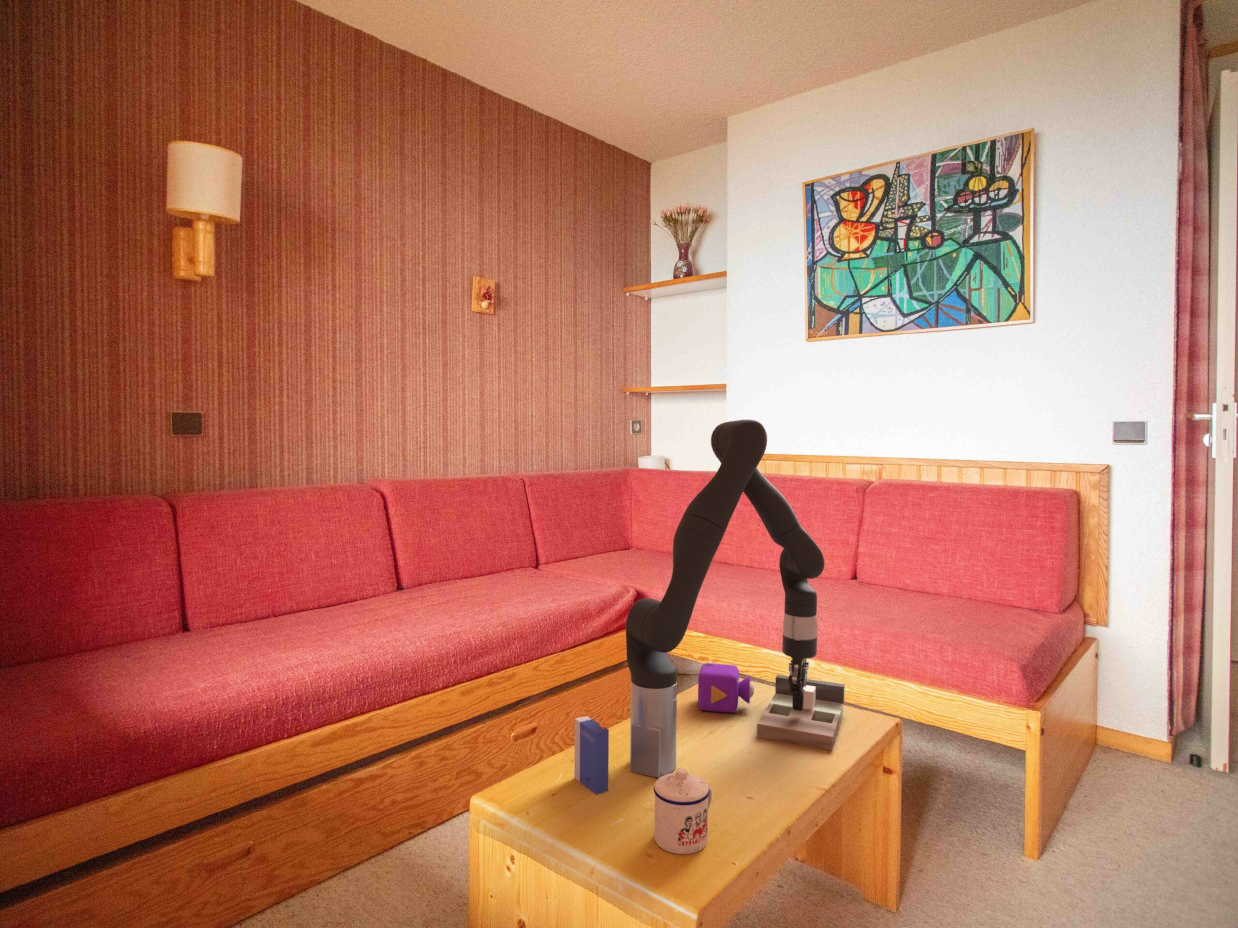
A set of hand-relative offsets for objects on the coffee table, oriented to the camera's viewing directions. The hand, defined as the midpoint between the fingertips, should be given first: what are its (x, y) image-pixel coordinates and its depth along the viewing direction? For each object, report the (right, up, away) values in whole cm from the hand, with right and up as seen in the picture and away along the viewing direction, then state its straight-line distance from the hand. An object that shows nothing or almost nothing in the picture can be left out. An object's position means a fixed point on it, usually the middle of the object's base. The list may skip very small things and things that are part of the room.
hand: (797, 709), depth 159 cm
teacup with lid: (-29, -7, -42) cm, 52 cm away
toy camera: (-14, -4, +13) cm, 20 cm away
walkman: (-46, -6, -25) cm, 53 cm away
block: (+4, -1, +7) cm, 8 cm away
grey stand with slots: (+2, -5, +3) cm, 6 cm away
